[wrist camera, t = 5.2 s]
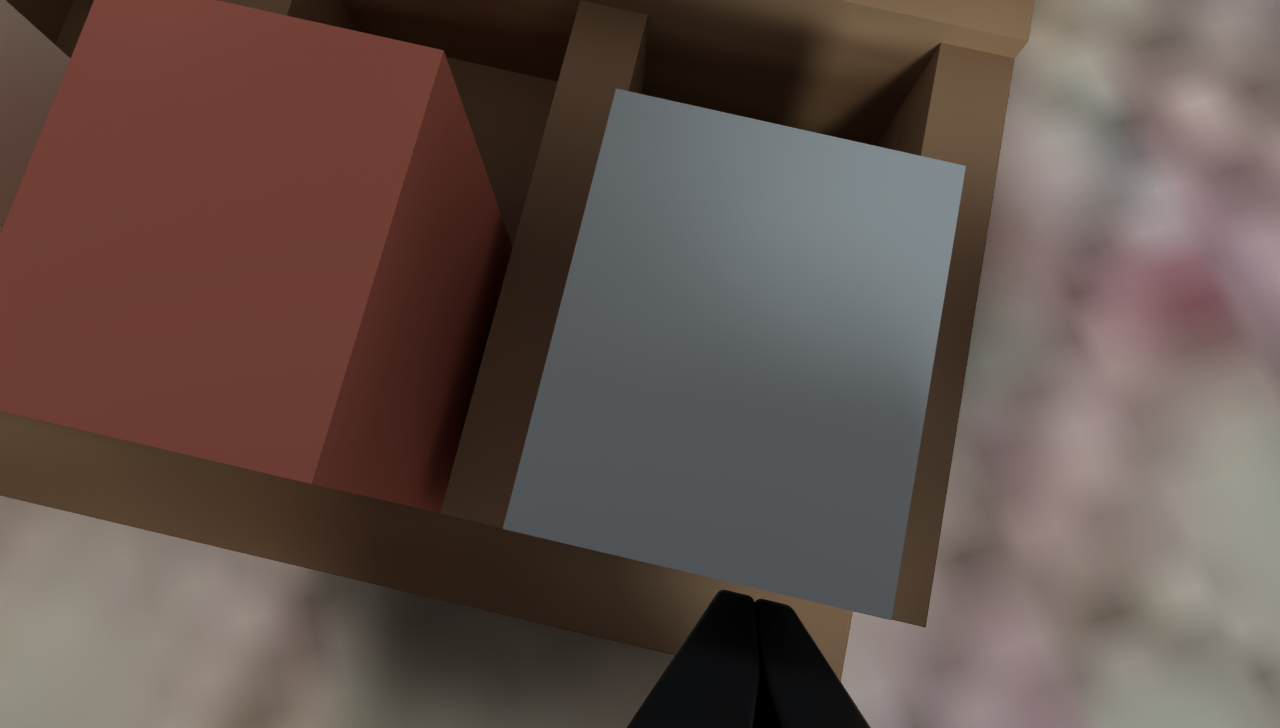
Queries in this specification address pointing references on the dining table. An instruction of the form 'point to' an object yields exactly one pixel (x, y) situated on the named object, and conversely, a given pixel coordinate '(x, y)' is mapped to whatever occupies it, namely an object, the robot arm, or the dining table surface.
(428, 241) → the red key
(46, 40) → the white key
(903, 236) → the grey rectangular block
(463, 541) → the key console
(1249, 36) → the dining table surface
